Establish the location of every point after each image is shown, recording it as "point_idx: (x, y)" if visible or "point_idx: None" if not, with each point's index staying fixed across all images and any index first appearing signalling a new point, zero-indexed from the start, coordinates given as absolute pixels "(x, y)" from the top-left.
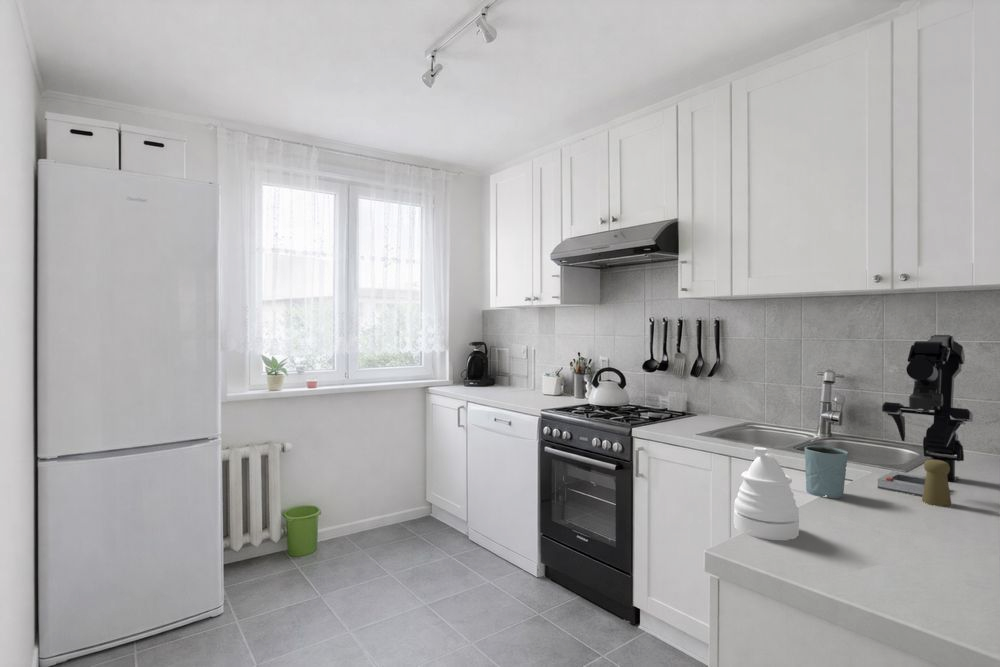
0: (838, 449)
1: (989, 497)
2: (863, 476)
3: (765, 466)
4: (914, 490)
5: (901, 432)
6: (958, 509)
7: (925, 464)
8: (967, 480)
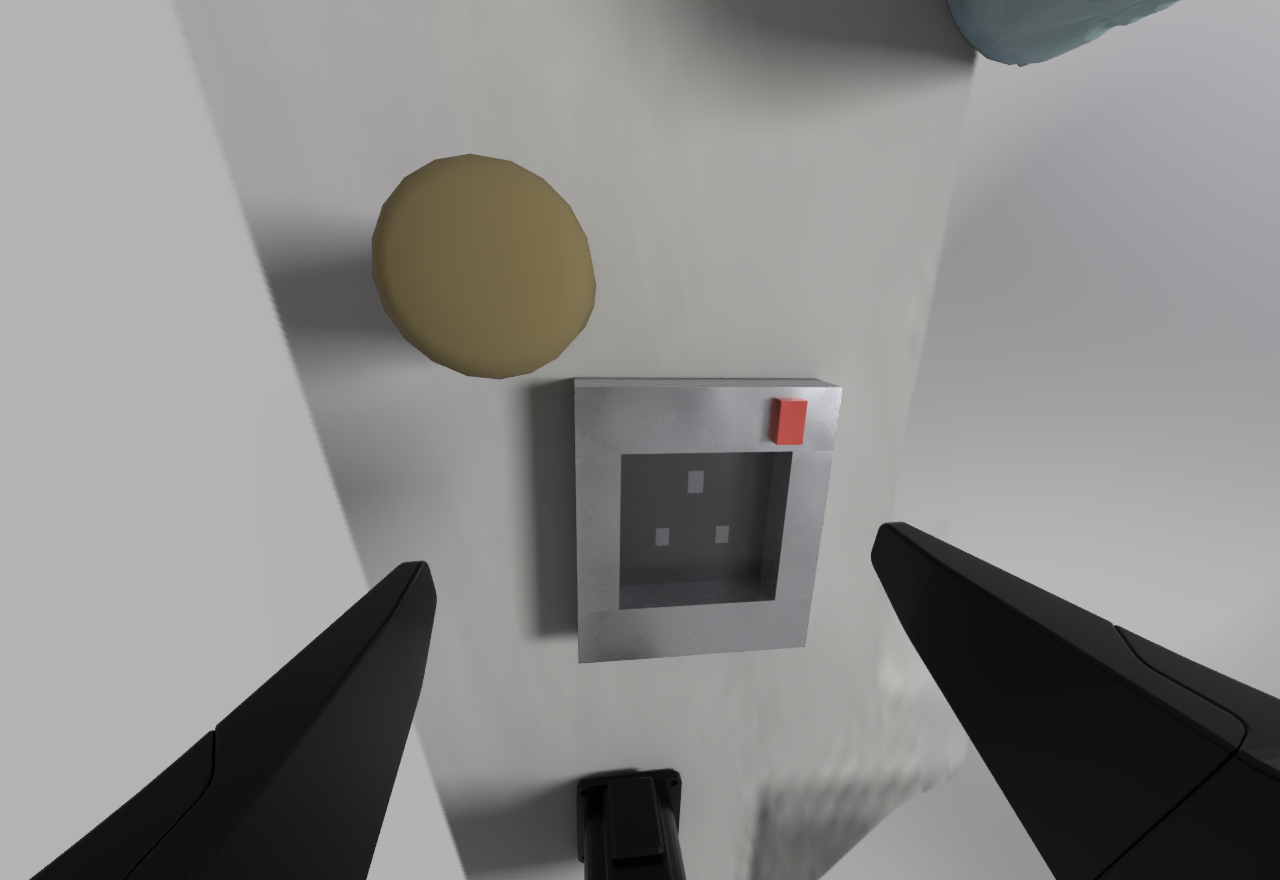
0: None
1: None
2: None
3: None
4: (653, 383)
5: (996, 583)
6: None
7: (570, 212)
8: (547, 856)
